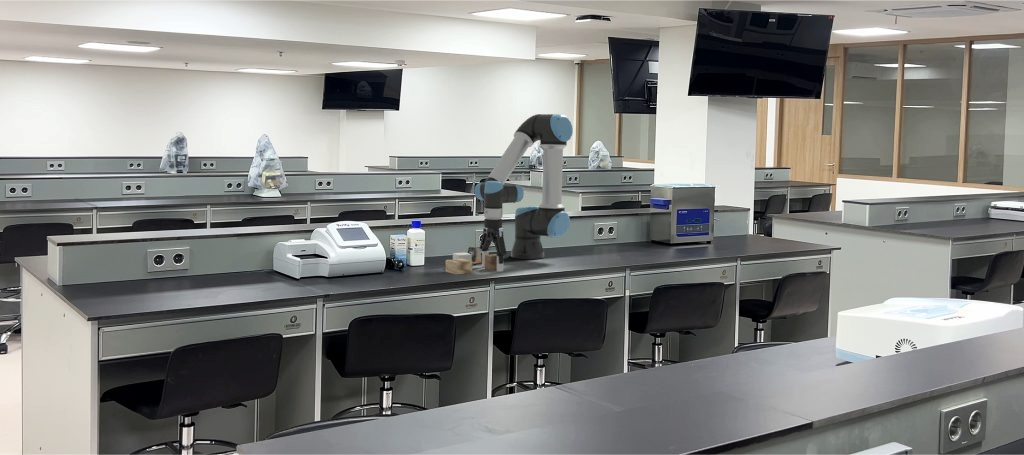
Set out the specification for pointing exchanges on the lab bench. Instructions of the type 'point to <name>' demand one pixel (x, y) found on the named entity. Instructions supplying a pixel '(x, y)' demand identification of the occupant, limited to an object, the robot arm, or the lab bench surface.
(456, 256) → the grey cube
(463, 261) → the oak base
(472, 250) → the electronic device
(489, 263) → the walnut block
